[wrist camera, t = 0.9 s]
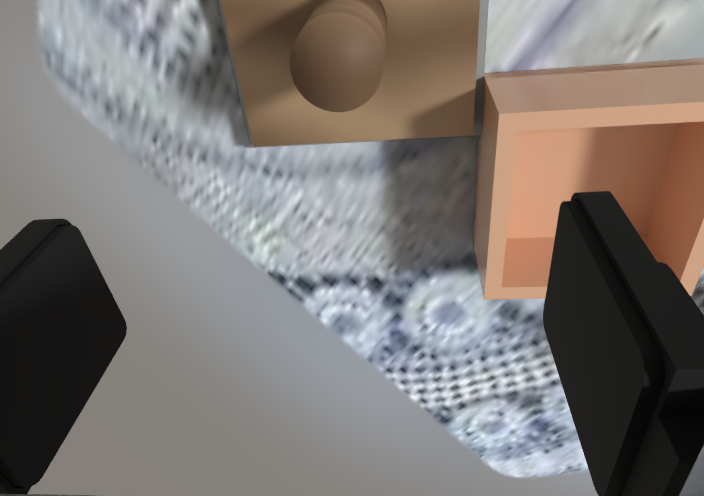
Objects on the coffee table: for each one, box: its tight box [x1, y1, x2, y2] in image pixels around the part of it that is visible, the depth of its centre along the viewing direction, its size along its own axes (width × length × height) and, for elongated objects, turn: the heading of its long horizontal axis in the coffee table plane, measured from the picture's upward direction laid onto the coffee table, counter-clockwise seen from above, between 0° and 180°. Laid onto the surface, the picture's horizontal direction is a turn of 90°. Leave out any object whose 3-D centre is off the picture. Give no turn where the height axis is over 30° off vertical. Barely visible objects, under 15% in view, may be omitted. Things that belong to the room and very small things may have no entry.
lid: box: [221, 0, 480, 147], centre depth 20 cm, size 11×11×7 cm
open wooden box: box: [473, 58, 704, 300], centre depth 25 cm, size 10×10×5 cm
